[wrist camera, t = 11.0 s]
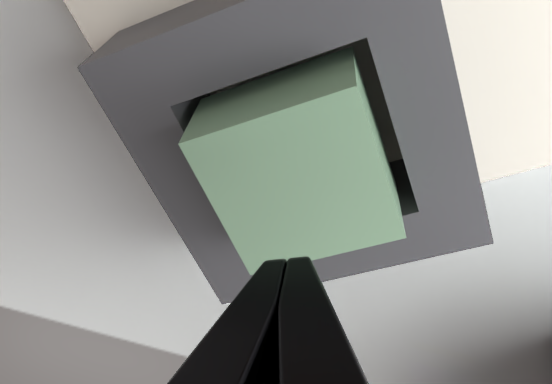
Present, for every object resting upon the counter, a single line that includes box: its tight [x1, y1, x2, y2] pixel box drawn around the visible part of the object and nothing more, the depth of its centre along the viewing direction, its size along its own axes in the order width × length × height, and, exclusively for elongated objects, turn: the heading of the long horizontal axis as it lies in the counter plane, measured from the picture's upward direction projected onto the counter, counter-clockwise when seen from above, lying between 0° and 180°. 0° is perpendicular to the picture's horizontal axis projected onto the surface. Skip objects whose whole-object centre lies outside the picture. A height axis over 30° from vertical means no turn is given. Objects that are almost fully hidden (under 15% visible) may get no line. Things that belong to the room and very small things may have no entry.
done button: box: [178, 46, 406, 275], centre depth 13 cm, size 4×4×2 cm
